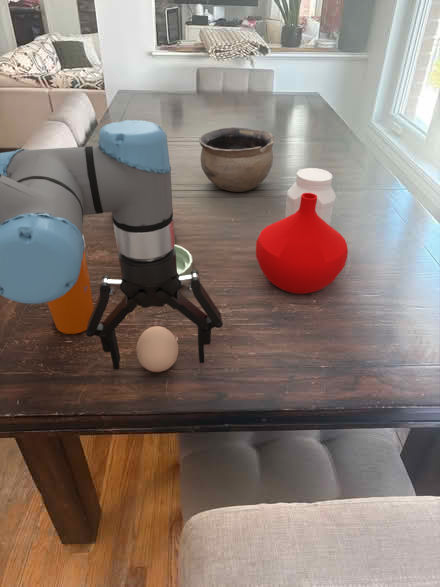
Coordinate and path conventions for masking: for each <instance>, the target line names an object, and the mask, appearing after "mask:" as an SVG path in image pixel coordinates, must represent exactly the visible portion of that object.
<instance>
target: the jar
mask: <svg viewBox="0 0 440 587" xmlns="http://www.w3.org/2000/svg"><path fill="white" fill-rule="evenodd" d="M332 182H333V174H332V173H331V172H330V171H328V170H326V169H321V168H315V167H306V168H301V169H298V171H297V172H296V178H295V182H294V183H293V184H292V185H291V186H290V187H289V189H288V190H287V193H286V204H285V205H286V206H285V213H284V218H286V217H288V216H290V215H292V214H294V213H296V212H297V211H298V210H299V207H300V201H301V195H302V194H303V193H313V194H315V195H317V202H316V208H315V211H316V213H317V215H318V216H319V217H320V218H321V219H322V220H324V221H325V222H326V223H327V224H328V225H329V226H331V221H332V216H333V210H334V207H335V202H336V199H337V196H336V193H335V190H334V189H333V187H332Z"/></svg>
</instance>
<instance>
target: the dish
mask: <svg viewBox="0 0 440 587" xmlns="http://www.w3.org/2000/svg"><path fill="white" fill-rule="evenodd" d="M174 247H175V250H176V265H177V273H178V275H179V276H185V275H190V273H191V271H193V270H194V267H193V255H192V254H191V253H190V251H189V250H187V249H186V248H184V247H183V246H182V245H178V244H175V245H174Z"/></svg>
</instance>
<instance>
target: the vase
mask: <svg viewBox="0 0 440 587" xmlns="http://www.w3.org/2000/svg"><path fill="white" fill-rule="evenodd" d="M316 202H317V195H315V194H313V193H303V194H302V195H301V201H300V207H299V210H298V211H297V212H296V213H294V214H292V215H290V216H288V217H286V218H285V217H284V218H283V219H280V220H278V221H276V222H273V223H271V224H269V225H266V226H265V227H264V228H263V229H262V230H261V231H260V233H259V235H258V237H257V239H256V241H255V243H256V244H255V257H256V260H257V262H258V265H259V268H260V270H261V271H262V274H263V275H264V276H265V277H266V279H267V280H268V281H269V282H270V283H271V284H272V285H274V286H275V287H276V288H278V289H280V290H281V291H285V292H288V293H291V294H300V295H303V294H311V293H314V292H317V291H320V290H322V289H324V288H326V287H327V286H329V285H330V284H331V283H333V282H334V281H335V280H336V279H337V277H338V275H339V274H341V272H342V271H343V270H344V268H345V267H346V264H347V260H348V254H349V249H348V244H347V241H346V239H345V237H344V236H343V235H342V234H341V233H340V232H339V231H337V230H336V229H335V228H333V227H332V226H331V225H330V226H329V225H328V224H327V223H326V222H325V221H324V220H322V219H321V218H320V217H319V216H318V215H317V213H316V211H315V208H316Z"/></svg>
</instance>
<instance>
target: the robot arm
mask: <svg viewBox="0 0 440 587" xmlns="http://www.w3.org/2000/svg"><path fill="white" fill-rule="evenodd" d="M169 153H170V152H169V146H168V136H167V134H166V131H164V129H163V128H162V127H161V126H160V125H158V124H157V123H155V122H152V121H148V120H141V119H128V120H127V119H126V120H125V119H124V120H121V121H113V122H110V123H107V124H105V125H104V126H102V127H101V128H100V130H99V131H98V141H97V144H94V145H90V146H89V145H88V146H75V147H74V146H73V147H56V148H55V147H54V148H40V149H27V148H25V149H24V148H19V149H16V150H12V151H5V152H0V296H1V297H3V298H5V299H8V300H10V301H12V302H16V303H21V304H26V305H27V304H28V305H39V304H45V303H46V304H47V302H50V301H53V300H55V299H57V298H60V297H61V296H63V295H64V294H66V293H67V292H68V291H69V290H70V289H71V288H72V287H73V285H75V284H76V282H77V279H78V276H79V273H80V268H81V262H82V258H83V252H84V250H85V251H86V247H85V246H84V244H86V242H85V243H84V241H85V239H84V240H83V236H84V234H83V233H84V231H83V230H84V229H83V228H84V227H83V225H84V216H91V215H101V214H104V213H111V218H112V225H113V231H114V236H115V243H116V249H117V251H118V253H117V254H118V261H119V266H120V267H119V268H120V273H121V274H120V275H121V279H112V278H111V276H109V275H103V276H102V277H101V280H100V284H99V295H98V297H97V300H96V302H95V305H94V309H93V312H92V314H91V317H90V319H89V321H88V326H87V330H85V335H86V337H88V338H92V337H94V336H96V337H98V338H99V339H100V343H101V347H102V351H103V352H104V353H110V358H111V362H112V366H113V370H114V371H116V370H117V371H118V370H119V369H120V363H121V362H120V361H121V355H120V354H121V353H120V349H119V344H118V339H117V334H116V328H117V327H118V326H119V325H120V324H121V323H122V321H124V319H125V318H126V317H127V316H128V315H129V314H130V313H132V312H133V311H134V310H135V309H136V308H137V307H138V306H139V307H141V308H142V309H144V308H145V309H147V308H150V307H158V308H159V307H160V308H161V307H163V308H164V307H165V305H167V306H169V307H170V308H172V309H173V310H176V311H178V312H179V313H180V314H181V315H182V316H184V317H186V318H187V319H188V320H189V321H190V322H192V323H193V324H194V325H195V326H197V350H198V363H199V364H204V363H205V346H207V345H208V346H209V345H210V344H211V343H212V329H215V328H217V329H220V328H222V327H223V324H224V323H223V318H222V313H221V312H220V310H219V309H218V307H217V305H216V304H215V303H214V301H213V300H212V298H211V296H210V295H209V294H208V292H207V290H206V289H205V288H204V285H203V284H202V283H201V279H200V273H199V271H198V270H195V269H193V271H191V273H190V275H185V276H179V275H178V273H177V265H176V250H175V247H174V245H176V239H175V238H176V237H175V221H174V211H173V210H174V209H173V190H172V166H171V162H170V155H169ZM181 287H185V288H186V289H187V290H188V291H189V292H192V294H193V297H194V298H195V299H196V300H195V301H196V302H198V304H199V305H200V307H201V309H202V310H201V309H200V308H199V307H198V306H196V305H195V304H194V303H193V302H192V301H190V300H189V299H188V298H187V297H185V296H184V294H182V292H181V290H180V289H181ZM118 290H120V291H121V292H122V293H123V295H124V297H123V298H122V299H121V301H119V303H118V304H117V305H116V306H115V307H114V309H113V310H112V311H111V312H110V313H109V314H108V315H107V317H106V318H105V319H104V320H102V318H103V315H104V313H105V311H106V309H107V306H108V304H109V301H110V297H113V296H115V294H116V293H117V291H118Z"/></svg>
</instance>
